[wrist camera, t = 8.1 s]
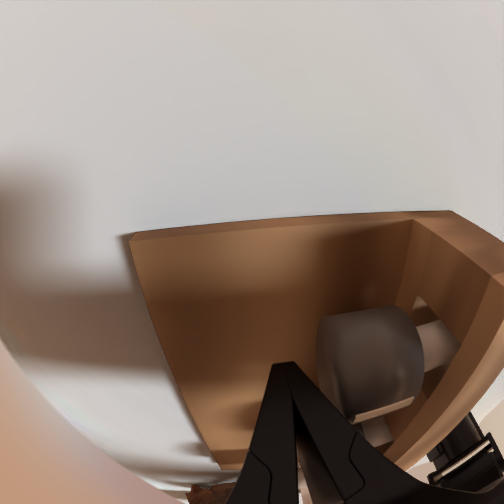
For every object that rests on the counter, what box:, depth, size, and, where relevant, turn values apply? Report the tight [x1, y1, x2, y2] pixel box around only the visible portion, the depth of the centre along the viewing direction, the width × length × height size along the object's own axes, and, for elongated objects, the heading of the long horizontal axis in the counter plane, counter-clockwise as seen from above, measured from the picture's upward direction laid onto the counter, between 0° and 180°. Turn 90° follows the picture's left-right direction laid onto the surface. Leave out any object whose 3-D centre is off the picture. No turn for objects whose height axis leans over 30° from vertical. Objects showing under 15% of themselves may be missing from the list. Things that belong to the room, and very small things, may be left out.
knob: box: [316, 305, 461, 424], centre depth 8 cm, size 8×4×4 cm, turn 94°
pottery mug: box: [186, 482, 236, 504], centre depth 20 cm, size 12×10×8 cm
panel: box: [129, 211, 504, 471], centre depth 11 cm, size 13×22×6 cm, turn 3°
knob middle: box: [352, 415, 393, 447], centre depth 11 cm, size 8×4×4 cm, turn 94°
